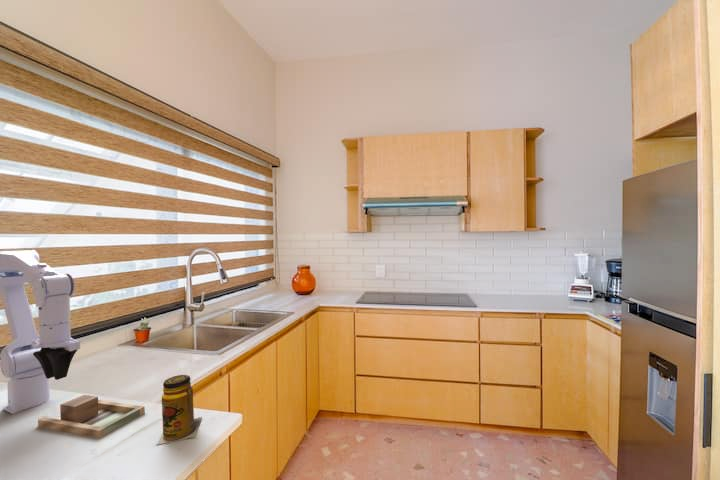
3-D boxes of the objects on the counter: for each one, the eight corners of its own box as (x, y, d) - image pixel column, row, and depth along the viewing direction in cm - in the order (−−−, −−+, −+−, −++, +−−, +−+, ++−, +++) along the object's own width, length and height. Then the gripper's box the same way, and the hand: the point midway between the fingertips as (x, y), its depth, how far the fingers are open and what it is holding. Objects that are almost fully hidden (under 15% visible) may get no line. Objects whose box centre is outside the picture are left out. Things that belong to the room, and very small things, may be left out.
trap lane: (38, 430, 74) (37, 419, 74) (87, 408, 84) (87, 398, 84) (99, 442, 68) (98, 430, 68) (144, 416, 78) (144, 406, 78)
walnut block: (60, 421, 76) (60, 404, 76) (84, 410, 81) (83, 394, 81) (75, 424, 74) (74, 406, 74) (98, 412, 79) (97, 396, 79)
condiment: (156, 445, 66) (154, 387, 67) (167, 424, 75) (165, 372, 75) (195, 438, 69) (193, 381, 69) (202, 418, 77) (200, 367, 77)
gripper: (15, 326, 78) (16, 381, 78) (55, 328, 74) (57, 387, 74) (50, 319, 85) (51, 370, 85) (88, 321, 81) (90, 374, 81)
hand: (56, 377), depth 80 cm, fingers open, 3 cm apart
